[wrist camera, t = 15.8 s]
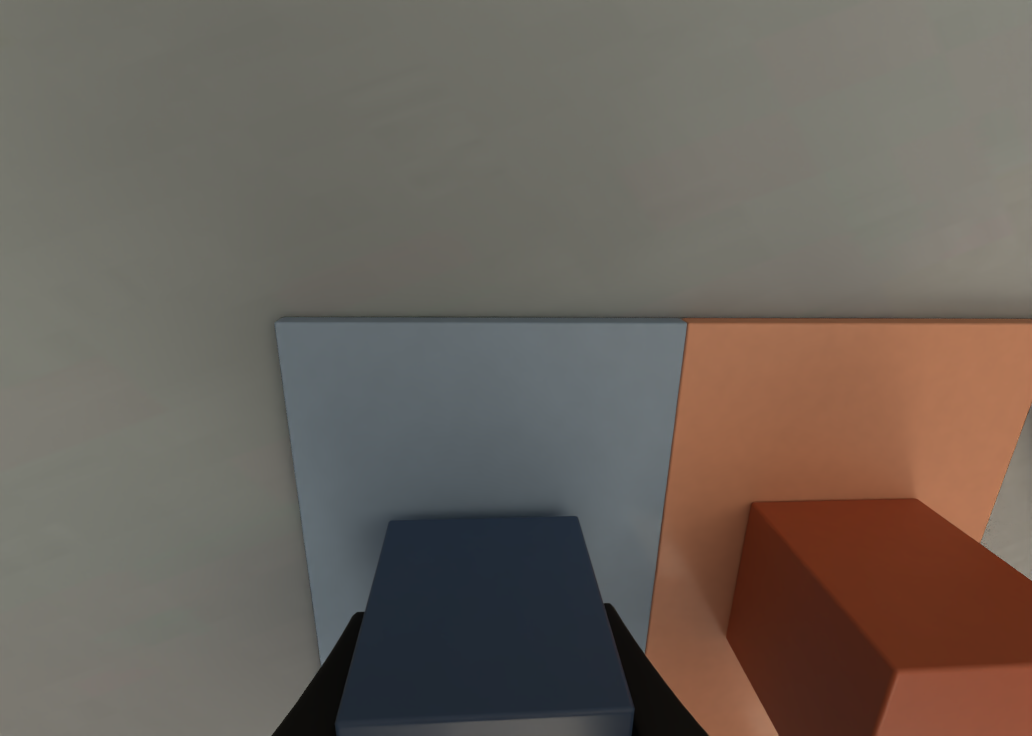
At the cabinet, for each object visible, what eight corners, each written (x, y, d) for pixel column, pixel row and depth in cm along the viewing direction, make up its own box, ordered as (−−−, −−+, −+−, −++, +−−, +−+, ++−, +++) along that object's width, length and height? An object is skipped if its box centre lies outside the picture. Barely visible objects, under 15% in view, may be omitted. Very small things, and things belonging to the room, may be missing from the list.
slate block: (568, 656, 14) (613, 893, 9) (398, 664, 14) (357, 912, 9) (578, 514, 13) (636, 710, 8) (388, 518, 12) (332, 725, 8)
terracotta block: (875, 631, 15) (1052, 832, 11) (724, 637, 15) (837, 847, 10) (917, 497, 14) (1145, 660, 9) (750, 500, 13) (896, 671, 9)
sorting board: (895, 731, 17) (906, 745, 17) (339, 760, 16) (335, 777, 16) (1041, 318, 13) (1062, 323, 12) (281, 316, 12) (273, 322, 11)
